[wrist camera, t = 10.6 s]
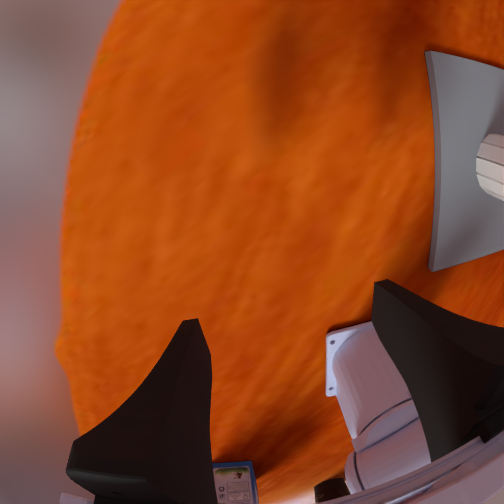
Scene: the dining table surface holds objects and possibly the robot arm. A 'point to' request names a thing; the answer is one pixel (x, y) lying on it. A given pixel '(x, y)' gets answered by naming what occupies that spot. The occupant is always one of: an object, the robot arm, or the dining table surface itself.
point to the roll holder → (463, 158)
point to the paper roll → (491, 165)
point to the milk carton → (235, 483)
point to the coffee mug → (330, 490)
